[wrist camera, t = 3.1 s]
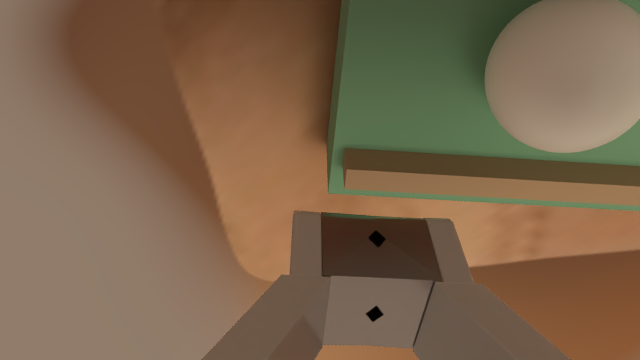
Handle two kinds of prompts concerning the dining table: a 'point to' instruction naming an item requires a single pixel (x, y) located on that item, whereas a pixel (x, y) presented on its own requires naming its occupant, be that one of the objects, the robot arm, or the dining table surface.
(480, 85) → the mini golf course
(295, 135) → the dining table surface
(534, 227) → the dining table surface
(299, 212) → the robot arm
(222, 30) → the dining table surface
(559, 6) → the ball
